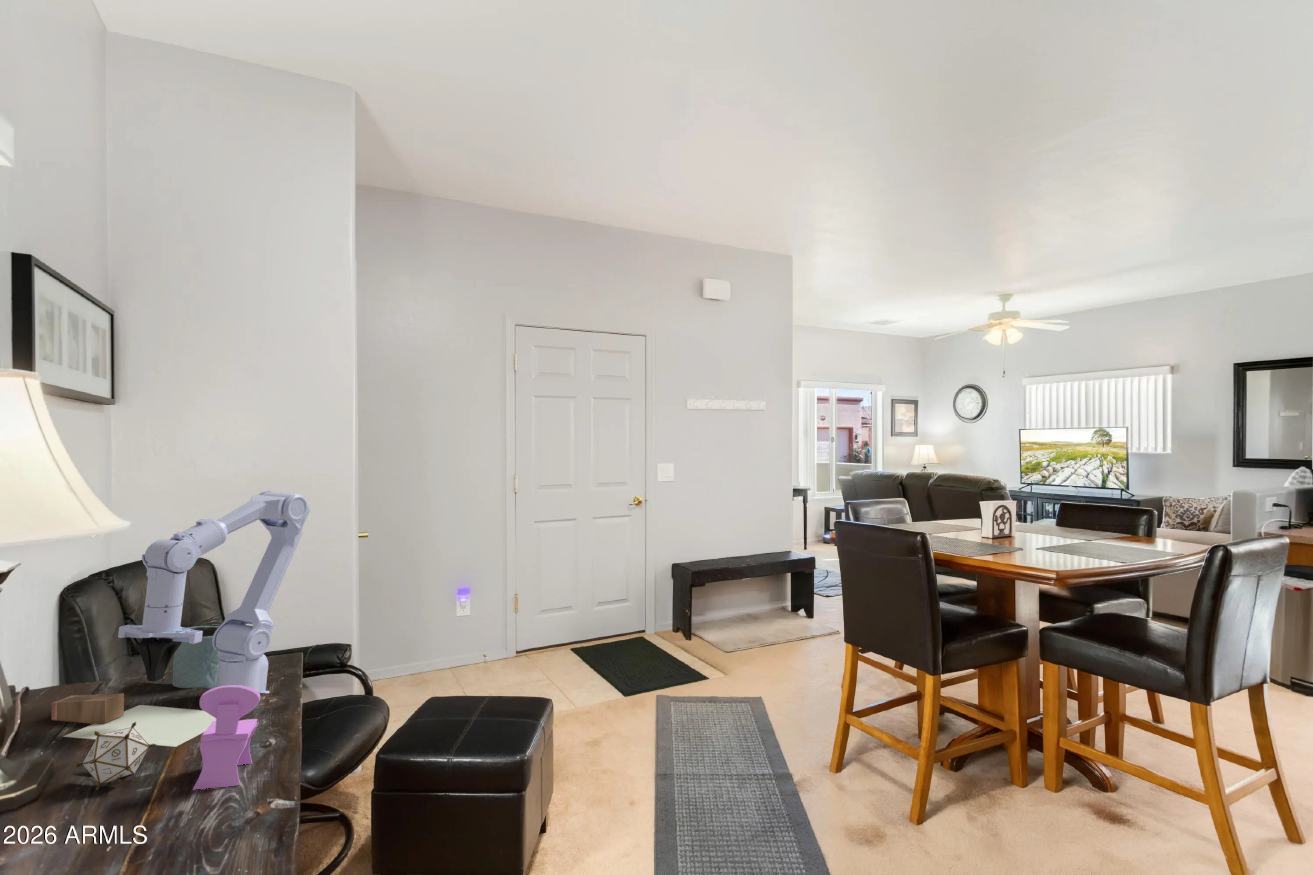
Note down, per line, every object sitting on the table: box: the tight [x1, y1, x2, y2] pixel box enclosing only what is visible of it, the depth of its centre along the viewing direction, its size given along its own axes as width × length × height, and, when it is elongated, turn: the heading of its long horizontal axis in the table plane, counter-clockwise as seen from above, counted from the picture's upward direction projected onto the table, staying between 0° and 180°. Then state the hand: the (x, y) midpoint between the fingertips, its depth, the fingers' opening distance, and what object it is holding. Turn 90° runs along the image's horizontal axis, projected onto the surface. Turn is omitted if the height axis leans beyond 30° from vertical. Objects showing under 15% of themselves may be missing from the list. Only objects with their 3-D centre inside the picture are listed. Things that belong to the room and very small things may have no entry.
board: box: [62, 704, 216, 748], centre depth 120 cm, size 16×20×1 cm
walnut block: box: [51, 692, 125, 725], centre depth 120 cm, size 4×4×10 cm
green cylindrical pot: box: [171, 625, 220, 689], centre depth 143 cm, size 10×10×12 cm
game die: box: [74, 722, 158, 791], centre depth 101 cm, size 9×8×10 cm
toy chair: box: [192, 685, 261, 791], centre depth 105 cm, size 8×9×15 cm
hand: (155, 679), depth 120 cm, fingers closed
